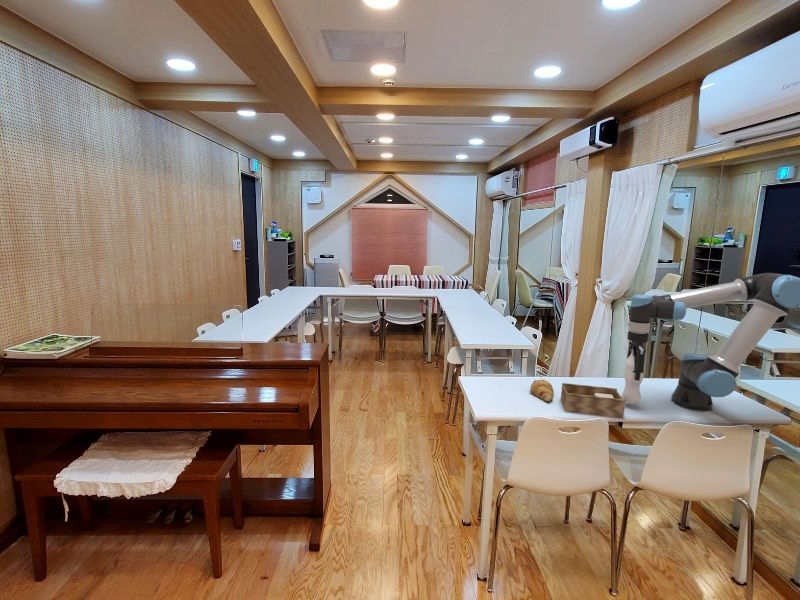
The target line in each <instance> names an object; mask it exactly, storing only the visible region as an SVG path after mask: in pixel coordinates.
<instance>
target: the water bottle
mask: <svg viewBox="0 0 800 600" xmlns="http://www.w3.org/2000/svg"><path fill="white" fill-rule="evenodd" d="M624 363H625V364H624V366H625V367H624V373H623V374H624V375H623V377H624V381H625V382H624V383H625V386H624V389H623V391H622V393H621V397H622V398H623V399H625V400H626V402H627V403H628V404H629V405H633V404H634V403H635V404H636V405H637V404H639V403H640V401H641V400H642V395H641V392H640V391H641V390H640V388H641V387H640V388H636V387H632V380H633V371H634V356H633V350H632V353H631V355H630V356H629V357H628V359H627V358H626V360H625V362H624ZM644 368H645V364H644ZM643 380H644V372H643V373H641V379H640V385H641V383H642V382H643Z"/></svg>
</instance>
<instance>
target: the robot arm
mask: <svg viewBox="0 0 800 600" xmlns="http://www.w3.org/2000/svg"><path fill="white" fill-rule="evenodd" d="M732 301H741V302H746V301H752V303H753V305H752V307H751V308H750V309H749V311H748V312H747V313H746V315H745V316H744V317H743V318H742V319H741V321H740V323H738V325H737V326H736V327H735V328H734V330H733V331H732V332H731V333H730V335H729V337H728V338H727V339H726V340H725V342H724V343H723V344H722V345H721V347H720V348H719V349H718V350H717V352H716V353H715V354H714V355H713V354H712V355H707V354H702V353H701V354H700V353H692V352H689V353H683V354H682V358H681V359H680V366H679V367H680V369H679V375H678V382H677V385H676V387H675V389H674V391H673V392H672V394H671V397H670V401H671V402H672V403H673V402H674V403H675V404H674V403H673V404H674V405H676V404H677V405H676V406H678V405H679V406H678V407H681V408H683V407H684V409H687V410H690V411H697V412H710V411H712V410H713V407H714V405H713V404H714V403H713V400H712V397H713V398H725V397H727V396H729V395H731V394H732V393H733V392H734V391H735V390H736V387H737V383H736V382H737V380H736V378H738V376H739V375H740V369H739V367H740V366H741V365H742V363H743V362H744V361H745V360H746V359H747V357H748V356H749V354H750V353H752V351H753V350H754V348H755V347H756V346H757V345H758V343H759V342H760V341H761V340H762V339H763V337H765V335H766V334H767V333H768V331H769V330H770V329H771V328H772V327H773V325H774V324H775V323H776V322H777V320H778V319H779V318H780V317H784V316H788V314H789V313H790V312H791V311H792V310H793V309H796V308H799V307H800V277H798V276H794V275H791V274H782V273H777V272H776V273H775V272H764V273H760V274H759V273H757V274H753V275H749V276H745V277H740V278H736V279H734V281H732V282H731V281H730V282H726V283H721V284H716V285H712V286H711V285H710V286H706V287H701V288H695V289H690V290H684V291H680V292H674V293H669V294H668V293H667V294H663V295H657V294H655V295H648V294H634V295H632V296H631V302H630V308H629V309H630V312H629V321H628V322H629V323H627V326H628V331H627V340H628V347H627V355H626V360H627V359H628V357H629V356H630V355H631V353H632V350H633V356H634V371H633V380H632V387H636V388H641V384H640V379H641V373H643V372H644V369H645V367H644V365H645V357H646V356H645V355H646V349H644V345H643V344H644V343H645V344H646V343H647V342H649V335H650V334H649V332H650V329H651V328H650V326H651V319H653V320H654V319H656V320H657V319H658V320H669V321H671V320H672V321H677V320H678V321H681V320H683V319H684V318H685V317H686V315H687V309H692V308H700V307H704V306H710V305H715V304H721V303H726V302H732ZM643 374H644V373H643Z"/></svg>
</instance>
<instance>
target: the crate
mask: <svg viewBox="0 0 800 600" xmlns="http://www.w3.org/2000/svg"><path fill="white" fill-rule="evenodd" d="M595 393H601V394H611V395H612V396H613V397H614V398H606V397H597V396H594V394H595ZM560 402H561V404H562V407H563V410H564V412H565V413H573V414H583V415H589V416H590V415H591V416H598V417H599V416H600V417H605V418H606V417H608V418H614V419H615V418H616V419H622V420H623V419H624V418H625V417H624V416H625V407H626V402H627V401H626V400H625V399H623V398H622V394H620V392H618V388H614V387H605V386H595V385H584V384H576V383H567V382H566V383H565V382H562V384H561V393H560Z"/></svg>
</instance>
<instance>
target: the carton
mask: <svg viewBox="0 0 800 600" xmlns="http://www.w3.org/2000/svg"><path fill="white" fill-rule="evenodd" d="M594 396H597V397H606V398H614V397H613V396H612V395H611V394H601V393H595V394H594Z"/></svg>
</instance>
